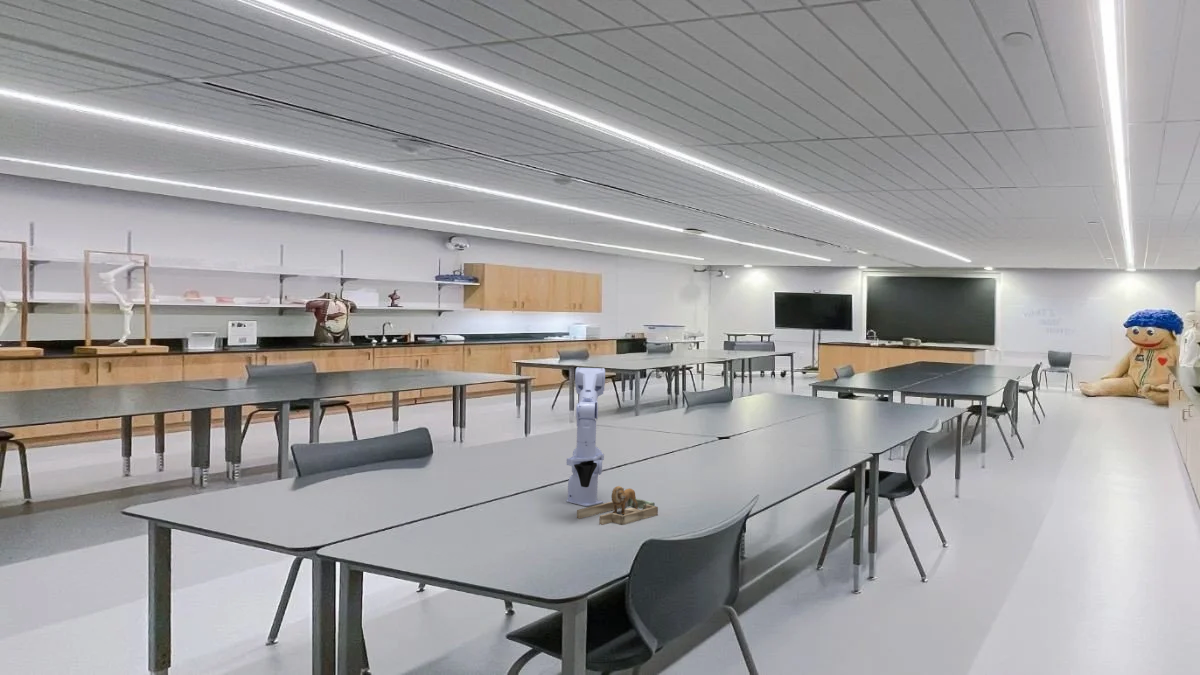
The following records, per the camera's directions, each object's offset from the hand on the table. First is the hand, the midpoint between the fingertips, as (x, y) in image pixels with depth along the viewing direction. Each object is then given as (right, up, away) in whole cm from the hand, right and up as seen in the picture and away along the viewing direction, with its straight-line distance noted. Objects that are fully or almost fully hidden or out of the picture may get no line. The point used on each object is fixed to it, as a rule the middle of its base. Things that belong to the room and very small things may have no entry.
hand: (584, 486), depth 235 cm
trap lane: (+11, -10, +4) cm, 15 cm away
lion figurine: (+12, -10, +9) cm, 18 cm away
